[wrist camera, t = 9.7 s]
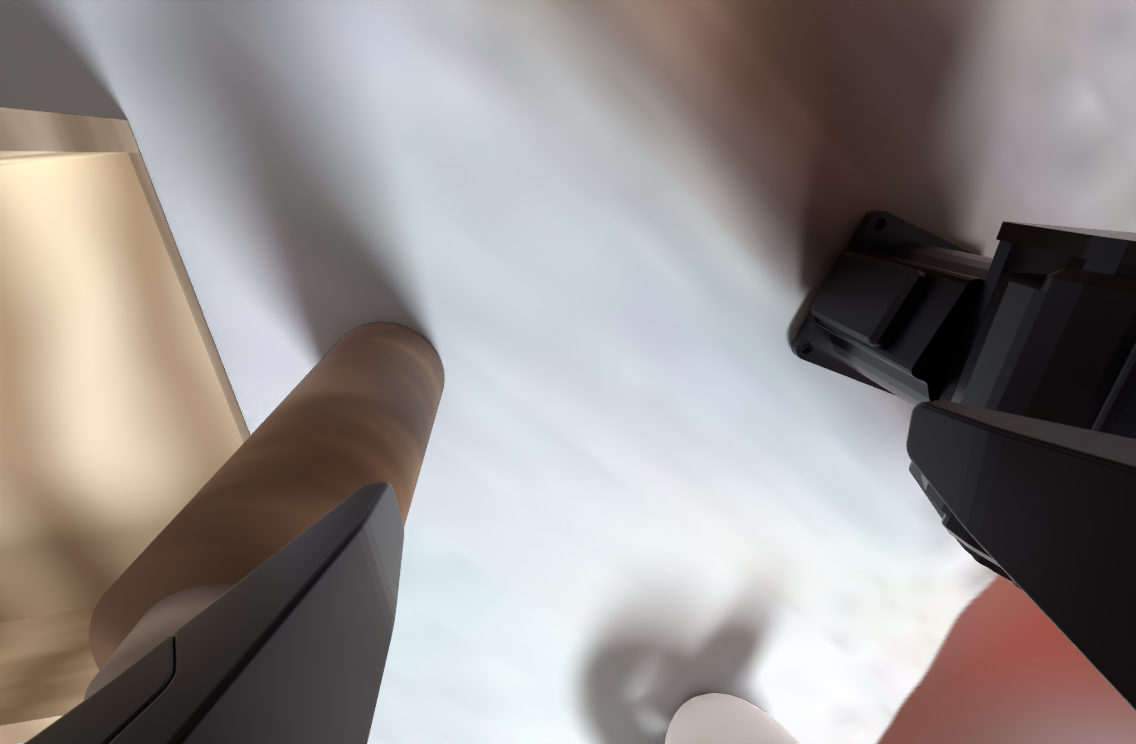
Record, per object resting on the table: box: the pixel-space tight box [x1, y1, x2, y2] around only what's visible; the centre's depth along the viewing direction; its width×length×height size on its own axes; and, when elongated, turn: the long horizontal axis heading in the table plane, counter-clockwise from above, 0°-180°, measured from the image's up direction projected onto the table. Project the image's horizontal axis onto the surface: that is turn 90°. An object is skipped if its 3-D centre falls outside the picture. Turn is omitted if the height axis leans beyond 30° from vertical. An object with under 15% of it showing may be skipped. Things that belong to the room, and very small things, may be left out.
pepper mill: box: [84, 322, 444, 700], centre depth 14 cm, size 5×5×17 cm
